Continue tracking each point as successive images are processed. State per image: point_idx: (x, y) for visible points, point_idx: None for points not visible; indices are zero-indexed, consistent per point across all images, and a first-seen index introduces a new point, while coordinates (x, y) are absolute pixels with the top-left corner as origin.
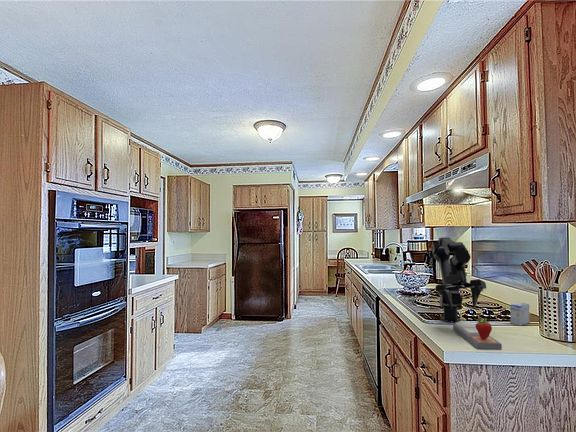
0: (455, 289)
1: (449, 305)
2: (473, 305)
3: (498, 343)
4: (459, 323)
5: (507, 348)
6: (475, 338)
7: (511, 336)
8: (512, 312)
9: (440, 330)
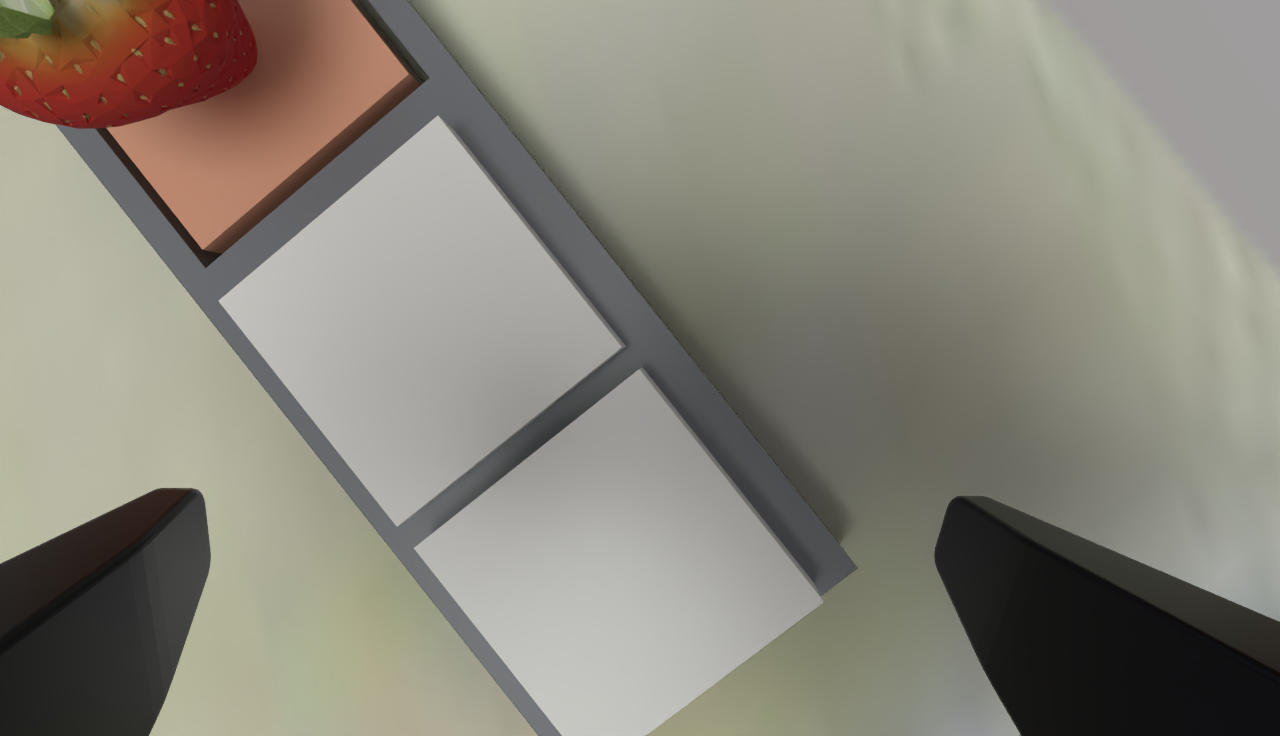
0: None
1: (1049, 528)
2: (176, 498)
3: None
4: (743, 567)
5: (15, 169)
6: (327, 11)
7: None
8: None
9: (988, 376)
